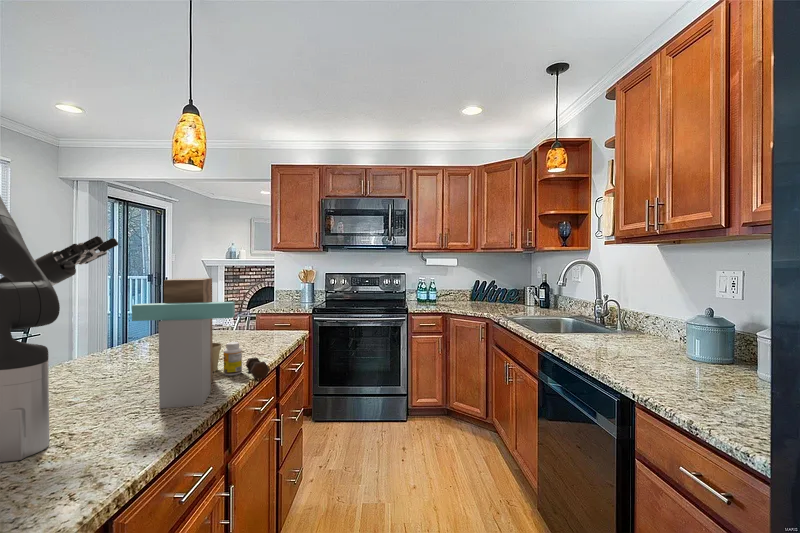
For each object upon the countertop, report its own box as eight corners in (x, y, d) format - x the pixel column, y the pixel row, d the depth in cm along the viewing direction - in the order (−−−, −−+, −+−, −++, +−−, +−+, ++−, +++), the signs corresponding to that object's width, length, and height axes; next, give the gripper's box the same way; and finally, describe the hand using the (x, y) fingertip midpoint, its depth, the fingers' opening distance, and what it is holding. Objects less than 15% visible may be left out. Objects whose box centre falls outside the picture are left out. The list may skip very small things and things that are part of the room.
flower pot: (192, 368, 139) (192, 344, 139) (222, 365, 143) (222, 341, 143) (191, 376, 131) (190, 349, 131) (222, 372, 135) (222, 346, 134)
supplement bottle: (224, 372, 135) (224, 341, 135) (242, 370, 137) (242, 340, 137) (222, 376, 130) (222, 345, 130) (241, 375, 131) (241, 344, 131)
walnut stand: (203, 392, 115) (203, 279, 114) (164, 394, 112) (163, 280, 112) (212, 379, 126) (212, 278, 126) (177, 382, 124) (176, 278, 123)
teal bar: (232, 317, 109) (232, 303, 109) (131, 321, 103) (131, 305, 103) (234, 315, 113) (234, 301, 112) (138, 318, 107) (137, 303, 107)
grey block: (202, 405, 104) (201, 320, 104) (159, 408, 102) (158, 321, 102) (210, 392, 114) (210, 315, 114) (171, 395, 112) (170, 316, 111)
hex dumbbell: (253, 372, 141) (263, 382, 129) (239, 367, 139) (248, 376, 126) (261, 357, 143) (272, 365, 130) (248, 351, 141) (257, 359, 128)
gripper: (19, 258, 96) (86, 225, 99) (54, 259, 110) (113, 229, 113) (38, 285, 97) (104, 251, 100) (71, 282, 111) (128, 253, 114)
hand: (109, 240), depth 107 cm, fingers open, 8 cm apart
